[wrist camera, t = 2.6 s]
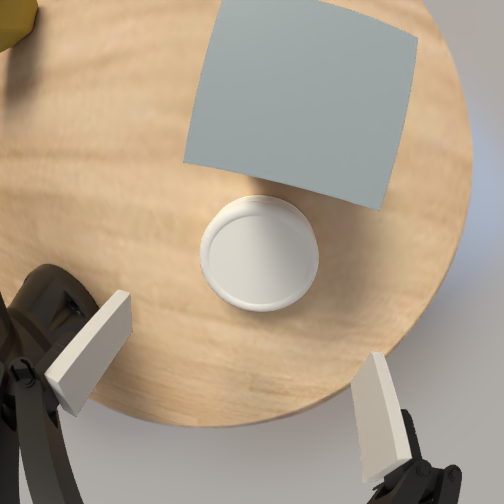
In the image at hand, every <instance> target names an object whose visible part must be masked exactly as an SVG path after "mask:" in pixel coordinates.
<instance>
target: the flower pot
mask: <svg viewBox="0 0 504 504" xmlns="http://www.w3.org/2000/svg"><path fill="white" fill-rule="evenodd" d="M37 8H38V3H37V0H0V52H2V51H5V50H6V49H8V48H10V47H12V46H14V45H15V44H16V43H17V42H19V41H20V40H21V39H22V38H24V37H25V36H26V35H28V34H29V33H30V32H31V31H32V29H33V25H34V20H35V16H36V12H37Z"/></svg>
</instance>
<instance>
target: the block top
mask: <svg viewBox="0 0 504 504" xmlns="http://www.w3.org/2000/svg"><path fill="white" fill-rule="evenodd" d="M417 44H418V38H417V37H415V36H413V35H411V34H409V33H407V32H405V31H403V30H400V29H398V28H396V27H394V26H391V25H389V24H387V23H384V22H382V21H379V20H377V19H374V18H372V17H369V16H366V15H364V14H361V13H358V12H355V11H352V10H349V9H346V8H343V7H339V6H336V5H332V4H329V3H325V2H321V1H317V0H222V3H221V6H220V9H219V12H218V15H217V18H216V22H215V25H214V28H213V32H212V35H211V39H210V42H209V46H208V49H207V53H206V57H205V61H204V65H203V69H202V73H201V77H200V81H199V85H198V89H197V94H196V98H195V103H194V108H193V113H192V117H191V122H190V128H189V133H188V138H187V144H186V149H185V155H184V161H183V163H189V164H195V165H200V166H205V167H211V168H216V169H221V170H226V171H230V172H235V173H240V174H244V175H249V176H253V177H258V178H262V179H266V180H271V181H275V182H279V183H283V184H287V185H291V186H295V187H299V188H302V189H306V190H310V191H314V192H317V193H321V194H324V195H328V196H331V197H335V198H338V199H342V200H345V201H348V202H352V203H355V204H358V205H361V206H364V207H368V208H371V209H374V210H377V211H380V208H381V205H382V202H383V199H384V196H385V192H386V189H387V186H388V183H389V179H390V176H391V173H392V169H393V166H394V162H395V158H396V155H397V151H398V147H399V143H400V139H401V135H402V130H403V126H404V122H405V117H406V112H407V108H408V103H409V97H410V92H411V86H412V80H413V74H414V67H415V60H416V52H417Z"/></svg>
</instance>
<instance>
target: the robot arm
mask: <svg viewBox="0 0 504 504" xmlns="http://www.w3.org/2000/svg"><path fill="white" fill-rule="evenodd" d="M132 332H133V329H132V315H131V296H130V293H128V292H125V291H122V290H119V289H118V290H117V291H116V292H115V293H114V294H113V296H112V297H111V298H110V299H109V300H108V301H107V302H106V303H105V304H104V305H103V306H102V307H101V308H100V309H98V307H97V305H96V303H95V302H94V300H93V299H92V297H91V296H90V294H89V293H88V292H87V290H86V289H85V288H84V287H83V286H82V285H81V284H80V283H79V282H78V280H76V279H75V278H74V277H73V276H72V275H71V274H69V273H68V272H67V271H65V270H64V269H62V268H60V267H58V266H55V265H52V264H43V265H40V266H39V267H37V268H36V269H34V270H33V271H32V272H31V273H29V274H28V276H27V277H26V279H25V281H24V283H23V285H22V287H21V288H20V290H19V291H18V293H17V294H16V296H15V298H14V299H13V301H12V303H11V304H10V306H9V307H8V308H7V309H6V306H5V304H4V301H3V298H2V295H1V292H0V504H20V499H19V447H20V450H21V456H22V461H23V465H24V471H25V475H26V480H27V483H28V487H29V491H30V495H31V498H32V501H33V504H84V503H83V501H82V498H81V496H80V493H79V490H78V487H77V484H76V482H75V479H74V475H73V473H72V469H71V466H70V463H69V459H68V455H67V451H66V447H65V444H64V439H63V435H62V430H61V425H60V421H59V415H58V410H57V406H58V405H59V404H60V405H61V406H62V408H63V409H64V410H65V411H67V412H68V413H70V414H72V415H73V416H75V417H77V415H78V413H79V412H80V410H81V408H82V407H83V405H84V404H85V402H86V400H87V399H88V397H89V396H90V394H91V393H92V391H93V390H94V388H95V386H96V385H97V383H98V382H99V380H100V379H101V377H102V376H103V374H104V373H105V371H106V370H107V368H108V367H109V365H110V364H111V362H112V361H113V359H114V358H115V356H116V355H117V353H118V352H119V350H120V349H121V347H122V346H123V345H124V343H125V342H126V340H127V339H128V337H129V336H130V334H131V333H132ZM350 384H351V390H352V395H353V402H354V408H355V415H356V422H357V430H358V438H359V446H360V455H361V464H362V476H363V482H373V481H377V480H379V479H381V478H382V477H384V482H383V483H381V484H379V485H377V486H376V487H374V488H373V490H376V489H377V491H376V492H375V494H374V495H373V496H372V498H371V499H370V500H369V502H368V503H367V504H457V503H458V498H459V493H460V487H461V481H462V472H461V470H460V468H459V467H458V466H456V465H450V466H448V467H446V468H445V469H439V468H433V467H432V466H431V464H430V463H429V462H428V461H426V460H424V459H422V456H421V452H420V447H419V443H418V439H417V435H416V434H415V432H416V431H415V428H414V427H413V426H414V424H413V420H412V417H411V415H410V414H409V413H408V411H407V410H406V409H400V406H399V403H398V399H397V396H396V392H395V389H394V385H393V382H392V379H391V376H390V373H389V369H388V367H387V363H386V360H385V357H384V354H383V353H379V352H371V353H370V355H369V356H368V358H367V360H366V361H365V363H364V364H363V366H362V367H361V369H360V370H359V372H358V373H357V375H356V376H355V377H354V379H353V380H352V382H351V383H350ZM432 499H433V500H432Z"/></svg>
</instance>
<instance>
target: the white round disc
mask: <svg viewBox="0 0 504 504" xmlns="http://www.w3.org/2000/svg"><path fill="white" fill-rule="evenodd" d="M200 265H201V269H202V273H203V275H204V277H205V279H206V281H207V283H208V285H209V286H210V287H211V289H212V290H213V291H214V292H215V293H216V294H217V295H218V296H219V297H220V298H222V299H223V300H225V301H226V302H228V303H229V304H231V305H233V306H236V307H238V308H241V309H245V310H249V311H256V312H267V311H274V310H278V309H282V308H284V307H287V306H289V305H291V304H292V303H294V302H296V301H297V300H298V299H300V298H301V297H302V296H303V295H304V294H305V293H306V292H307V290H308V289H309V288H310V286H311V284H312V283H313V281H314V278H315V276H316V273H317V269H318V265H319V250H318V246H317V242H316V238H315V235H314V232H313V229H312V226H311V225H310V223H309V221H308V220H307V218H306V217H305V216H304V214H303V213H302V212H301V211H300V210H299V209H297V208H296V207H295V206H293V205H292V204H290V203H288V202H287V201H284V200H282V199H279V198H276V197H272V196H266V195H252V196H246V197H242V198H240V199H237V200H235V201H233V202H231V203H229V204H228V205H226V206H225V207H224V208H223V209H222V210H221V211H220V212H219V213H218V214H217V215H216V216H215V217H214V219H213V220H212V221H211V223H210V224H209V225H208V227H207V228H206V230H205V232H204V234H203V237H202V240H201V245H200Z"/></svg>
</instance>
